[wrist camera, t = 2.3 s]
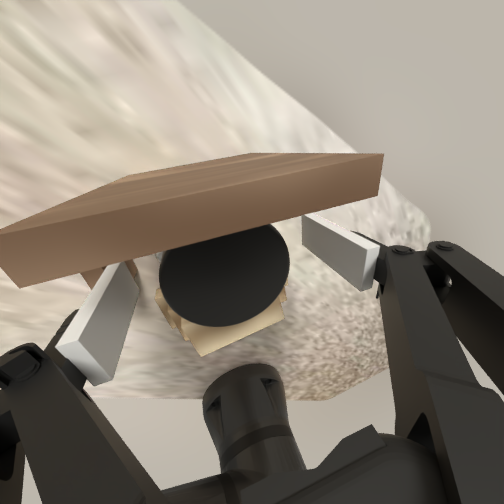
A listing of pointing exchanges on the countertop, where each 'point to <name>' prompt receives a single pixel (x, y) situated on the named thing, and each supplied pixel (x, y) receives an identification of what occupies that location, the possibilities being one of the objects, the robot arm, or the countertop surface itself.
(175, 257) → the jar
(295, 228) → the countertop surface
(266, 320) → the offcut short
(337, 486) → the robot arm
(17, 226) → the rack
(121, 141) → the countertop surface
